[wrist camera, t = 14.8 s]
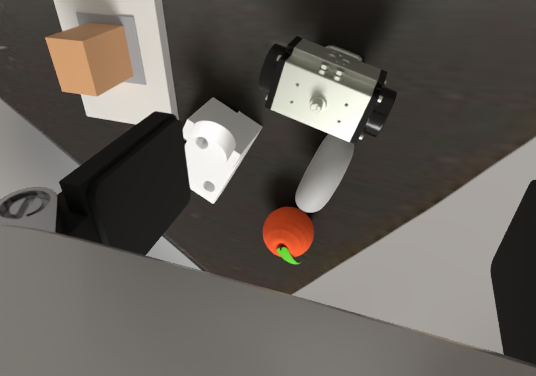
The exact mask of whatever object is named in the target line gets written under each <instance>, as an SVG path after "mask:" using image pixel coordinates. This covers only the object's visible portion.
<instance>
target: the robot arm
mask: <svg viewBox="0 0 536 376" xmlns="http://www.w3.org/2000/svg"><path fill="white" fill-rule="evenodd" d="M59 183H60V186H61V189H62V192H61V193H59V194H58V195H57V194H56V192H54V191H53V190H52V189H49V188H46V187H32V188H25V189H21V190H18V191H16V192H13V193H10V194H9V195H7V196H5V197H3V198H2V199H0V376H536V180H533V181H531V182H530V184H529V186H528V188H527V190H526V192H525V194H524V196H523V198H522V200H521V203H520V205H519V207H518V209H517V211H516V213H515V215H514V217H513V219H512V221H511V223H510V225H509V227H508V229H507V231H506V233H505V235H504V238H503V240H502V242H501V244H500V246H499V248H498V250H497V252H496V254H495V256H494V258H493V261H492V264H491V278H492V284H493V290H494V297H495V303H496V309H497V315H498V322H499V328H500V334H501V340H502V346H503V353H504V355H503V354H500V353H497V352H493V351H490V350H486V349H482V348H479V347H475V346H471V345H468V344H464V343H461V342H457V341H454V340H450V339H447V338H444V337H440V336H437V335H433V334H429V333H426V332H422V331H419V330H415V329H411V328H408V327H404V326H400V325H397V324H394V323H390V322H386V321H383V320H379V319H375V318H372V317H368V316H365V315H361V314H358V313H354V312H350V311H347V310H343V309H340V308H336V307H332V306H329V305H325V304H322V303H318V302H314V301H311V300H307V299H304V298H300V297H296V296H293V295H289V294H285V293H282V292H278V291H274V290H271V289H267V288H263V287H260V286H256V285H252V284H249V283H245V282H241V281H238V280H234V279H230V278H227V277H223V276H219V275H216V274H212V273H208V272H205V271H201V270H197V269H193V268H190V267H186V266H182V265H178V264H175V263H171V262H167V261H164V260H160V259H156V258H152V257H149V256H145V255H146V254H147V253H148V252H149V251H150V249H151V248H152V247H153V246H154V244H155V243H156V242H157V241H158V240H159V238H160V237H161V236H162V235H163V234H164V232H165V231H166V230H167V229H168V227H169V226H170V225H171V224H172V223H173V221H174V220H175V219H176V218H177V216H178V215H179V214H180V213H181V212H182V210H183V209H184V208H185V207H186V205H187V204H188V202H189V200H190V195H191V193H190V184H189V177H188V169H187V161H186V154H185V146H184V138H183V130H182V124H181V122H180V120H177V118H176V116H175V115H174V114H170V113H164V112H158V111H155V112H153V113H151V114H150V115H149V116H147V117H146V118H145V119H143V120H142V121H140V122H139V123H138V124H136V125H135V126H134V127H132V128H131V129H130V130H128V131H127V132H126V133H124V134H123V135H122V136H120V137H119V138H117V139H116V140H115V141H113V142H112V143H111V144H109V145H108V146H107V147H105V148H104V149H103V150H101V151H100V152H98V153H97V154H96V155H94V156H93V157H92V158H90V159H89V160H88V161H86V162H85V163H84V164H82V165H81V166H80V167H78V168H77V169H75V170H74V171H73V172H72V173H70V174H69V175H67V176H66V177H65V178H63V179H62V180H61V181H60V182H59Z"/></svg>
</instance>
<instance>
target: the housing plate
mask: <svg viewBox="0 0 536 376" xmlns="http://www.w3.org/2000/svg"><path fill="white" fill-rule="evenodd" d="M54 3H55V7H56V10H57V14H58V17H59V21H60V24H61V28H62V31H65V30H68V29H71V28H74V27H77V26H80V25H83V24H86V23H89V22H90V23H101V24H112V25H123V26H124V31H125V36H126V41H127V46H128V51H129V56H130V61H131V66H132V71H133V75H134V76H133V77H131V78H129V79H127V80H126V81H124V82H122V83H120V84H118V85H117V86H115V87H113V88H111V89H110V90H108V91H106V92H104V93H103V94H101V95H99V96H97V97H96V96H90V95H83V94H81V97H82V100H83V104H84V107H85V111H86V114H87V116H89V117H95V118H101V119H107V120H113V121H119V122H125V123H131V124H138V123H139V122H140V121H142V120H143V119H145V118H146V117H147V116H149V115H150V114H151V113H153V112H155V111H158V112H164V113H170V114H174V115H175V116H176V118H177V120H179V118H178V111H177V104H176V97H175V90H174V83H173V76H172V68H171V61H170V54H169V47H168V40H167V33H166V26H165V19H164V12H163V5H162V0H54Z"/></svg>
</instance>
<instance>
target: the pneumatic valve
mask: <svg viewBox="0 0 536 376" xmlns="http://www.w3.org/2000/svg"><path fill="white" fill-rule="evenodd" d="M361 61H362V58H361V57H360V55H358V54H355V53H353V52H350V51H348V50H345V49H343V48H340V47H338V46H335V45H333V44H332V46H330V45H328V46H326V47H323V46H321V45H318V44H315V43H313V42H310V41H308V40H305V39H303V38H300V37H298V36H297V37H296V38H295V39H294V40H292V41H291V42H290V43H289V44H288V46H287V48H286V47H284V46H281V45H279V44H274V45H273V46H272V48H271V49H270V51H269V52H268V54H267V56H266V59H265V61H264V64H263V66H262V69H261V73H260V76H259V82H258V87H259V89H260V90H263V91H265V92H267V93H269V94H267V96H266V98H265V100H267V101H266V104H265V107H266V108H268V109H271V110H273V111H276V112H278V113H280V114H283V115H285V116H288V117H290V118H292V119H295V120H297V121H300V122H302V123H304V124H307V125H309V126H311V127H314V128H316V129H319V130H321V131H323V132H326V133H328V134H331V135H333V136H335V137H338V138H340V139H343V140H345V141H347V142H350V143H352V144H354V145H356V143H357V141H358V139H360V140H362V138H363V136H364V134H362V132H364V133H366V134H369V135H371V136H373V137H376V136H377V135H378V134H379V132H380V131H381V129H382V127H383V125H384V123H385V121H386V119H387V117H388V115H389V113H390V111H391V109H392V106H393V104H394V101H395V98H396V95H397V92H396V91H394V90H391V89H389V88H386V87H384V86H385V85H386V83H387V81H386V80H385V79H386V75H387V72H386V71H384V70H381V69H378V68H376V67H373V66H371V65H368V64H366V63H363V62H361Z"/></svg>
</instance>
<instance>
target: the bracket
mask: <svg viewBox="0 0 536 376" xmlns="http://www.w3.org/2000/svg"><path fill="white" fill-rule="evenodd" d="M261 129H262V126H261V125H259V124H258V123H256V122H255V121H253V120H252V119H250V118H249V117H247V116H246V115H244V114H243V113H241V112H240V111H239V112H238V113H236V112H235V111H233V110H232V109H230V108H229V107H227V106H226V105H224V104H223V103H221V102H220V101H218V100H217V99H215V98H214V97H212V98H211V99H210V100H209V101H208V102H207V103H205V104H204V105H203V106H202V107H201V108H200V109H198V110H197V111H196V112H195V113H194V114H193V115H191V116H190V117H189V118H188V119H187V121H186V123H185V126H184V128H183V138H184V139H186V140H187V142H186V144H185V154H186V161H187V169H188V177H189V184H190V189H191V190H193V191H194V192H196V193H197V194H199V195H200V196H202V197H203V198H205V199H207V200H208V201H210V202H211V203H213V204H214V203H215V201H216V200H217V199H218V197H219V196H220V194H221V193H222V192H223V190H224V189H225V187H226V185H227V184H228V182H229V181H230V179H231V177H232V176H233V174H234V172H235V171H236V169H237V168H238V166H239V164H240V163H241V161H242V159H243V158H244V156H245V155H246V153H247V151H248V150H249V148H250V146H251V145H252V143H253V142H254V140H255V138H256V137H257V135H258V134H259V132H260V130H261Z"/></svg>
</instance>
